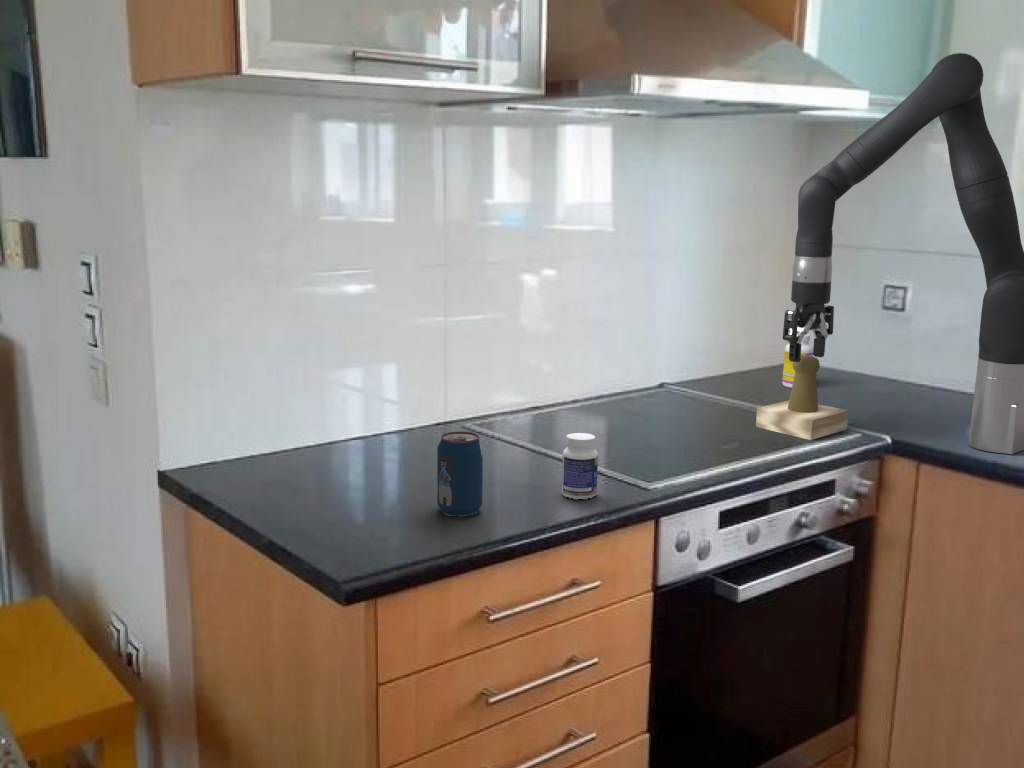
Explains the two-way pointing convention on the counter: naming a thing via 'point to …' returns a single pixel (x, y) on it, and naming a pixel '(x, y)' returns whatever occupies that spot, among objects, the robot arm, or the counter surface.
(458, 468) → the soda can
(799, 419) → the block
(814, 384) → the cork
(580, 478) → the pill bottle
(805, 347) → the supplement bottle
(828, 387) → the counter surface
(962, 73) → the robot arm
